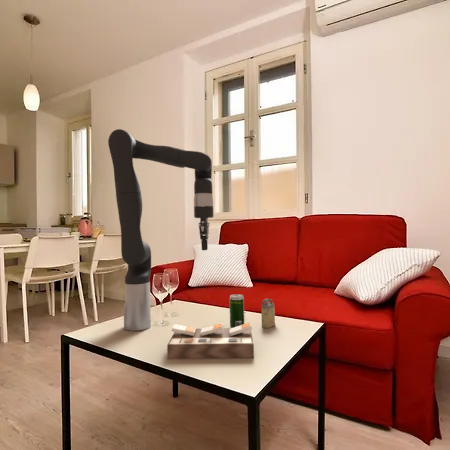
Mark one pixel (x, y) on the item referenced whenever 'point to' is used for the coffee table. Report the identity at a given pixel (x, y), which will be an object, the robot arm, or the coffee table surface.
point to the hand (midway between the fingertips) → (204, 250)
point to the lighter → (268, 313)
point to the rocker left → (183, 329)
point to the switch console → (211, 345)
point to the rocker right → (240, 329)
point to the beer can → (236, 310)
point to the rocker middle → (212, 329)
